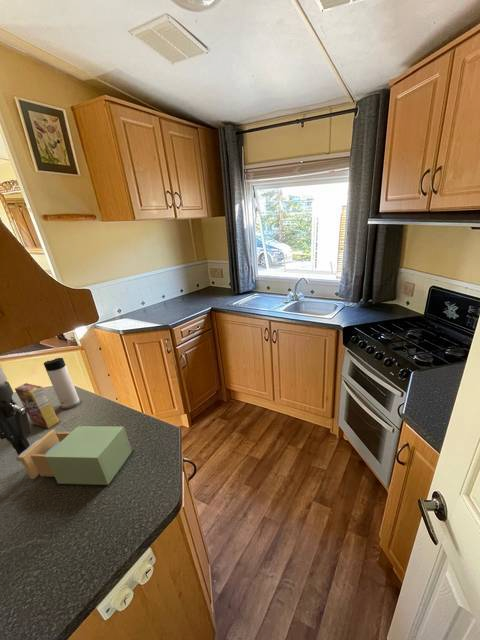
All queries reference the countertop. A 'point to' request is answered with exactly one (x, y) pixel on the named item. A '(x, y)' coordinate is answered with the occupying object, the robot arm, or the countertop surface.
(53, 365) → the travel mug
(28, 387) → the candy box
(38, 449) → the drawer
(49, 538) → the countertop surface
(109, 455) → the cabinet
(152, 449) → the countertop surface
